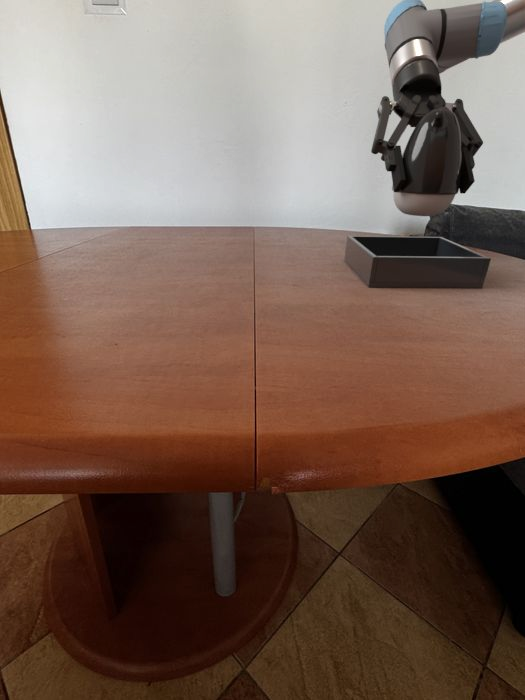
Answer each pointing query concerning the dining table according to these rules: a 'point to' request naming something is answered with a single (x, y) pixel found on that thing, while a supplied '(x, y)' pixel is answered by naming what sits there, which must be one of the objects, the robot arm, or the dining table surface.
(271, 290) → the dining table surface
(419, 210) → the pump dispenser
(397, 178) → the robot arm
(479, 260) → the dark brown tray
